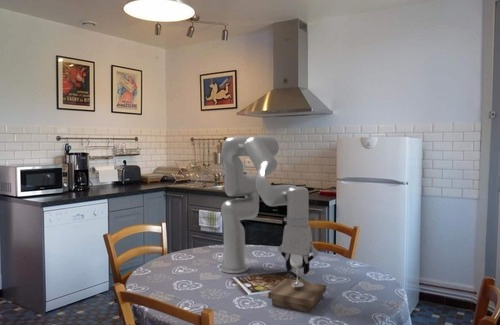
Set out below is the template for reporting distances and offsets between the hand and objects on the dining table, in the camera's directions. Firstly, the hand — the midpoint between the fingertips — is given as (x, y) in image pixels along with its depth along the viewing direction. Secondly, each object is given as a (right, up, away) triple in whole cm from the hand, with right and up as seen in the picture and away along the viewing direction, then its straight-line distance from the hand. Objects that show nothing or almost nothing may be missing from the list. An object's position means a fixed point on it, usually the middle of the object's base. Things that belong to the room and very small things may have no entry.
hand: (297, 271), depth 139 cm
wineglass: (0, -5, 0) cm, 5 cm away
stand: (0, -11, 0) cm, 11 cm away
